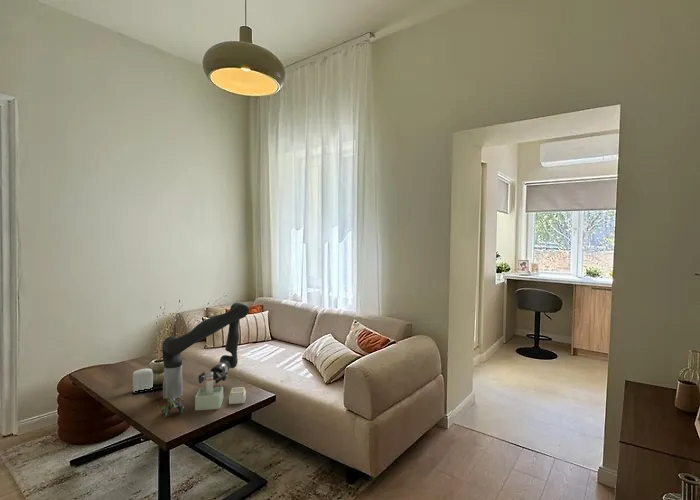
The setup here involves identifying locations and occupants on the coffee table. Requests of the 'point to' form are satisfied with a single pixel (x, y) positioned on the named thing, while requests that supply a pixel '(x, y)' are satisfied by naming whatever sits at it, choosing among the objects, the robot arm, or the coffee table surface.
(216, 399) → the tray
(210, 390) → the fuse
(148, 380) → the photo printer
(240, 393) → the fuse holder
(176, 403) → the passion flower
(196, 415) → the coffee table surface
